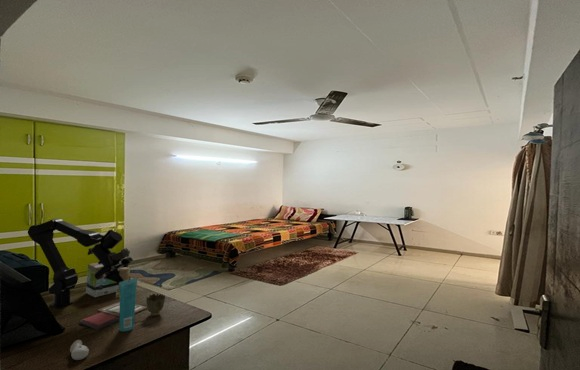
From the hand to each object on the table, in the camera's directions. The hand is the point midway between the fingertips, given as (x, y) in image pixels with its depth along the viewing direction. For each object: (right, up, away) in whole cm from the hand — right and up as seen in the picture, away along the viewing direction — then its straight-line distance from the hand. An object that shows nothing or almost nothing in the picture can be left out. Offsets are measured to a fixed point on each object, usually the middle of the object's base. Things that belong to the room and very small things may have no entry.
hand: (126, 282), depth 133 cm
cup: (+14, -13, -3) cm, 20 cm away
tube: (+9, -13, -16) cm, 23 cm away
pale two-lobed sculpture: (+3, -13, -35) cm, 37 cm away
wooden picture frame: (-2, -12, 0) cm, 13 cm away
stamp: (-2, -7, 0) cm, 7 cm away
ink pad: (-5, -12, -12) cm, 18 cm away
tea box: (-22, -12, +20) cm, 32 cm away
